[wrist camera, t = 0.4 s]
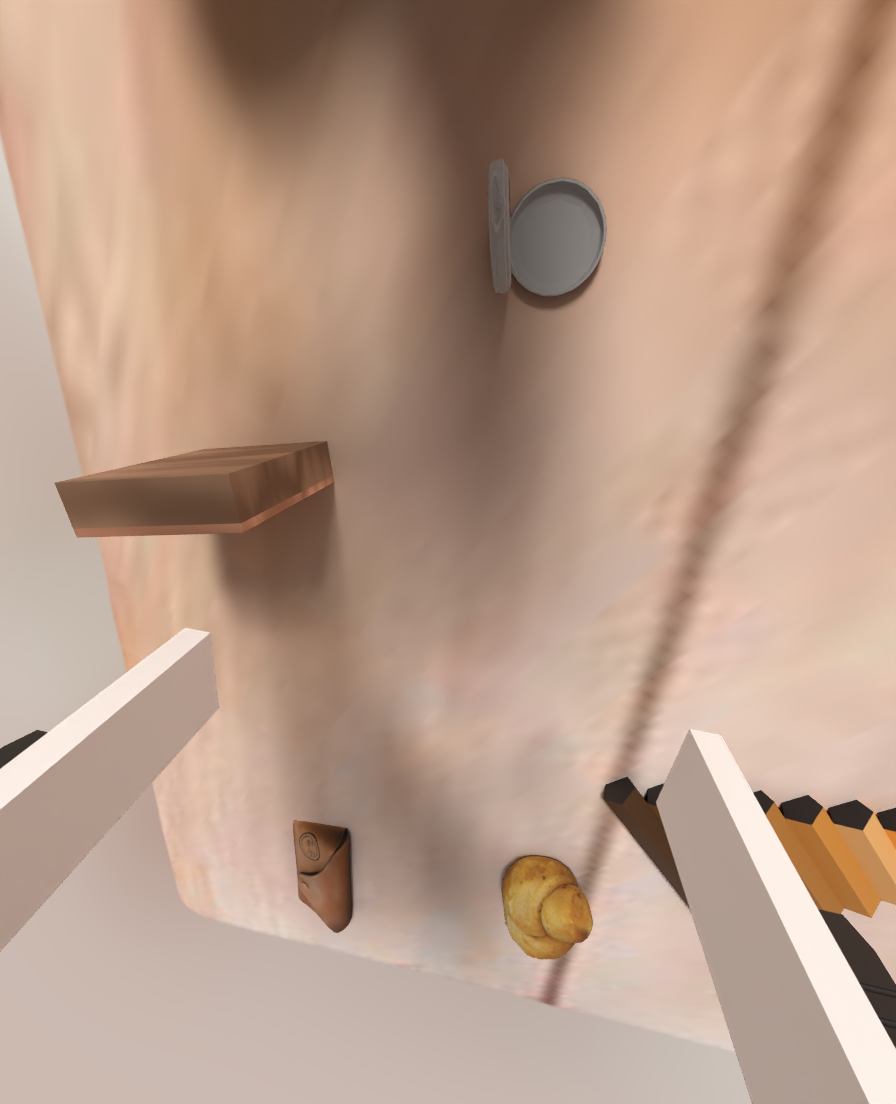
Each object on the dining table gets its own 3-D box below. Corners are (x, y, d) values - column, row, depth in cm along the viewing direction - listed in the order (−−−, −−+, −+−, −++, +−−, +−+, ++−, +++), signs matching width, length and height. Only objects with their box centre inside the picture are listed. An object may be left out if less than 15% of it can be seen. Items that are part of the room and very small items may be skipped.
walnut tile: (204, 449, 40) (54, 482, 27) (326, 441, 38) (228, 473, 25) (215, 487, 41) (76, 537, 28) (334, 482, 39) (243, 532, 26)
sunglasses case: (288, 817, 57) (292, 866, 52) (342, 800, 60) (351, 846, 54) (299, 900, 64) (303, 952, 59) (347, 882, 67) (355, 930, 61)
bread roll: (568, 919, 57) (575, 1000, 49) (494, 903, 58) (491, 979, 50) (588, 855, 52) (600, 934, 44) (507, 839, 53) (506, 913, 46)
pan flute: (600, 781, 48) (705, 916, 53) (606, 809, 45) (717, 949, 50) (847, 690, 40) (942, 860, 45) (876, 717, 37) (974, 896, 42)
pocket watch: (622, 250, 30) (669, 192, 20) (519, 335, 32) (520, 318, 23) (556, 135, 28) (574, 15, 19) (454, 235, 31) (426, 175, 22)
